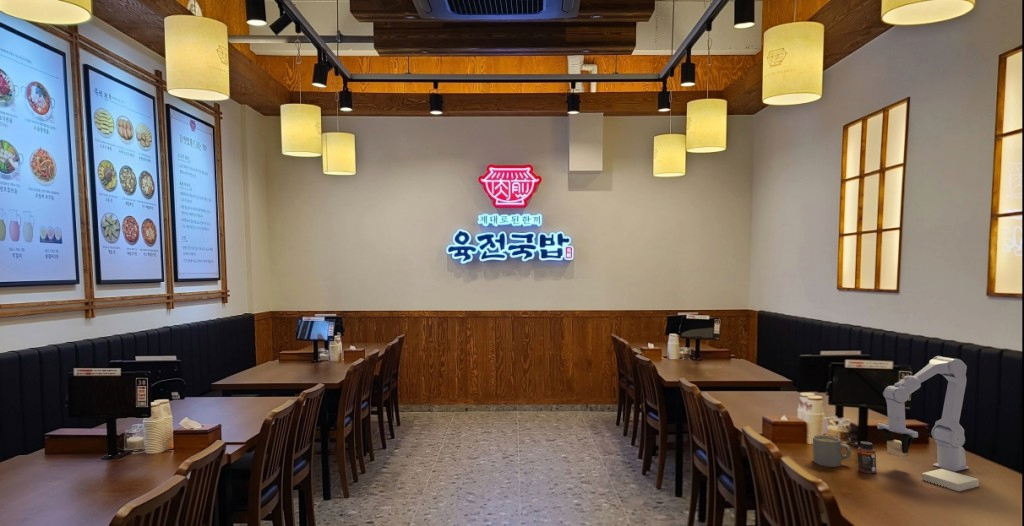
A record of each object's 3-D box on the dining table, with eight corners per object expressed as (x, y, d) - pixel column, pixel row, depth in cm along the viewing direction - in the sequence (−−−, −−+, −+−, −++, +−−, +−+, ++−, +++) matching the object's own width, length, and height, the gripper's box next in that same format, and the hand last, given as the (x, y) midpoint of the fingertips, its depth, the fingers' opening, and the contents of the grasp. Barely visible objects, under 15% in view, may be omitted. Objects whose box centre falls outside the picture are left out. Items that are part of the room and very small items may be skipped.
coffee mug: (812, 464, 218) (812, 439, 218) (814, 457, 226) (813, 433, 226) (851, 470, 210) (850, 444, 211) (851, 462, 219) (850, 438, 219)
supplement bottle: (879, 474, 205) (878, 445, 205) (862, 473, 206) (861, 444, 207) (872, 469, 211) (871, 440, 211) (855, 468, 212) (854, 440, 212)
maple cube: (895, 452, 214) (895, 439, 214) (908, 455, 210) (908, 443, 210) (887, 453, 212) (886, 441, 213) (900, 457, 208) (899, 444, 208)
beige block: (941, 476, 204) (941, 468, 204) (978, 487, 192) (978, 479, 193) (922, 481, 199) (921, 473, 199) (958, 492, 188) (958, 484, 188)
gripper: (871, 413, 217) (873, 447, 216) (909, 422, 203) (910, 457, 203) (883, 411, 220) (884, 444, 219) (920, 420, 206) (922, 455, 206)
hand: (897, 450), depth 211 cm, fingers closed on maple cube, 5 cm apart
